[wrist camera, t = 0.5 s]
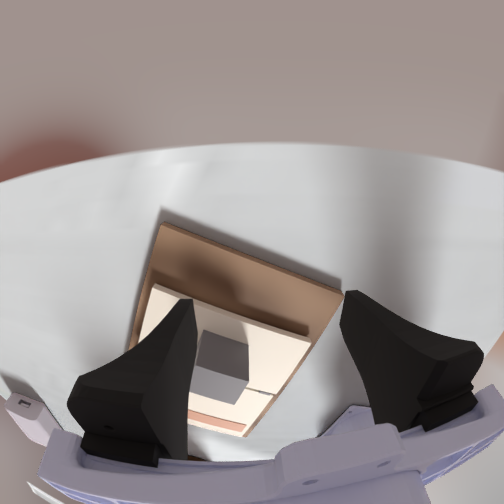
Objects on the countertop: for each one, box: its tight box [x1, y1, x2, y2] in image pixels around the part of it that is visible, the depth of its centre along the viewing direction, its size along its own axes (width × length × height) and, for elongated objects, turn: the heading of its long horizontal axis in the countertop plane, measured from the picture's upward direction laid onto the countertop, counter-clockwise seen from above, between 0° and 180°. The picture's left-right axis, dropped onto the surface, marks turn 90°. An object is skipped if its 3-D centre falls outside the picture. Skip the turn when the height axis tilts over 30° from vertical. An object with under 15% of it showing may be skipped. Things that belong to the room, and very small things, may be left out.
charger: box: [4, 392, 62, 447], centre depth 31 cm, size 5×9×15 cm
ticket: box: [188, 387, 273, 437], centre depth 26 cm, size 9×14×1 cm, turn 67°
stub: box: [138, 283, 311, 405], centre depth 21 cm, size 7×14×5 cm, turn 67°
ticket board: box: [128, 222, 345, 437], centre depth 25 cm, size 22×16×1 cm
